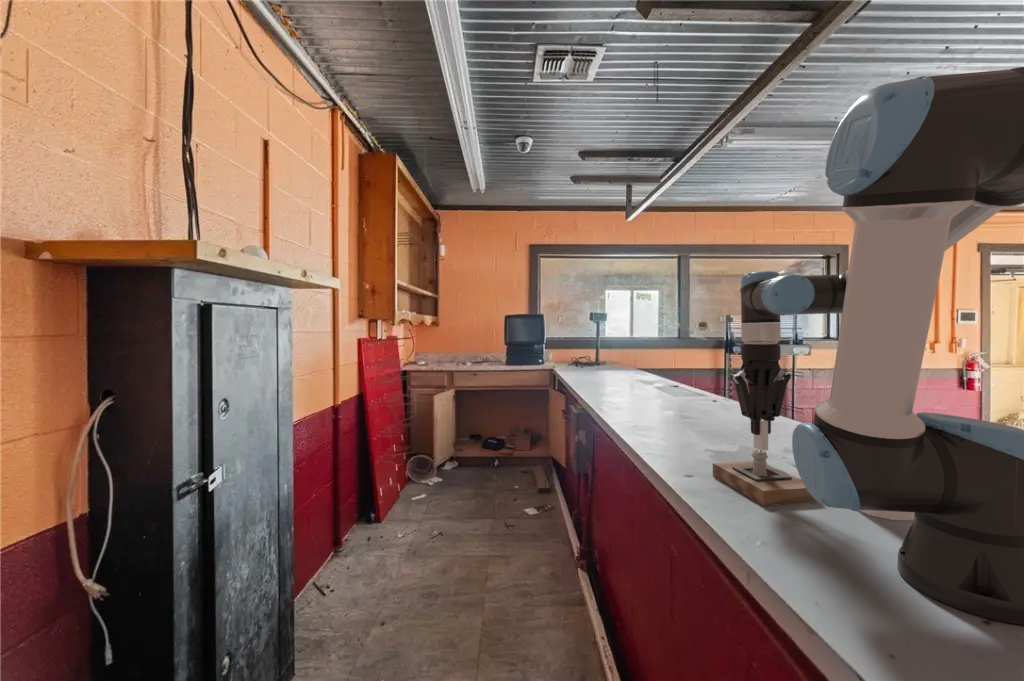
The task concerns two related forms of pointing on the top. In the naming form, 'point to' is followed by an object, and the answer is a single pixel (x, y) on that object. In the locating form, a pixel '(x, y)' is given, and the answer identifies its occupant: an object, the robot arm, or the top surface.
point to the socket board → (763, 483)
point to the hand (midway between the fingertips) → (760, 448)
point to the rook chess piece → (759, 463)
